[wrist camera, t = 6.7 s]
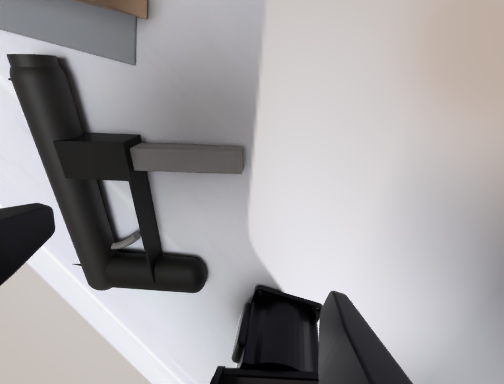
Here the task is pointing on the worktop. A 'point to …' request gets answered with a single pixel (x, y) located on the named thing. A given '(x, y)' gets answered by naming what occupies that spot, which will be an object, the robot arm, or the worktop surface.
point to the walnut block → (122, 6)
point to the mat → (73, 26)
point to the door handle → (109, 168)
